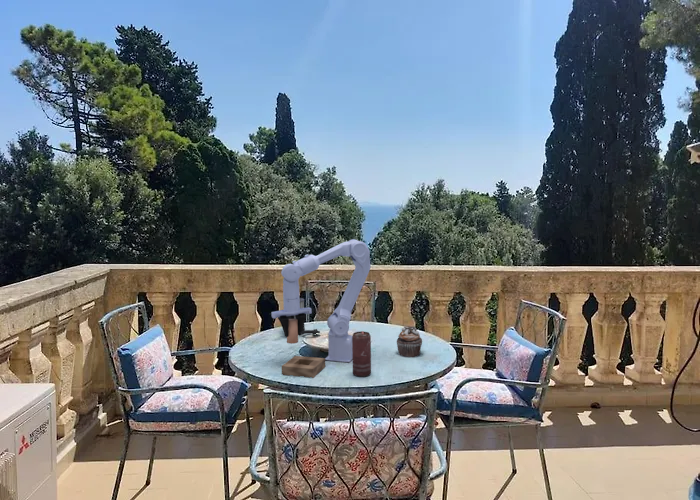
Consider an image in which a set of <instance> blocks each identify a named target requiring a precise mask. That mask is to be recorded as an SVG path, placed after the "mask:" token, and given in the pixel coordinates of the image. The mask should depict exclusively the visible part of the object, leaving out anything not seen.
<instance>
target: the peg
mask: <svg viewBox="0 0 700 500" xmlns="http://www.w3.org/2000/svg"><path fill="white" fill-rule="evenodd" d="M286 343H287V344H291V345H292V344H297V343H299V335H298V320H297V319H289V322H288V337H286Z"/></svg>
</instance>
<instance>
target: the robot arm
mask: <svg viewBox="0 0 700 500" xmlns="http://www.w3.org/2000/svg"><path fill="white" fill-rule="evenodd" d="M370 253H371V251H370V249H369V247H368V245H367V244H366V243H365V242H364V241H362V240H361V241H360V240H358V239H355V238H353V239H352V238H351V239H350V240H348V241H344V242H341V243H339V244H337V245H334V246H333V247H331V248H329V249H328V250H325V251H323V252H321V253H319V254H318V255H314V254H309V253H307V254H305V255H304V257H302V258H300V259H298V260H292V263H287V264H285V265H284V266H283V267H282V269H281V273H280V274H281V276H282V277H283V278H282V284H283V285H282V292H283V294H282V295H283V296H282V298H283V309H281V310H276V311H271V313H270V314H271V318H272V319H278V320H279V323H280V325H281V328H282V330H283V334H284V335H283V336H284V337H286V338H287V337H288V322H289V319H287V317H286V316H292V315H295V318H296V319H297V320H298V336H301V335H302V334H301V329H302V326H303V323H304V324H305V321H306V319H307V315H310V314H311V315H312V312H313V311H312V308H311V307H304V308H300V299H299V298H300V284H299V283H300V282H299V279H300V277H303V276H305V275H308V274H310V273H312V272H314V271H317V270H318V269H319V267H320V265H322V264H324V263H326V262H328V261H331V260H332V259H336V258H338V257H340V256H341V257H350V259H351V260H352V262H353V265H354V266H355V268H354V270H353V273H352V274H351V277H350V280H349V282H348V284H347V286H346V288H345V291H344V293H343V295H342V297H341V299H340V302H339V304H338V306H337V307H336V308H335V309H334V311H333V313H332V314H331V315H329V317H328V318H327V320H326V324H327V326H328V328H329V331H328V333H327V334H328V336H327V337H328V338H327V339H328V343H327V344H328V346H327V347H328V355H327V356H326V357H325V361H332V362H341V363H342V362H343V363H344V362H345V363H350V362H351V361H353V355H352V336H353V334H349V330H350V322H351V317H352V311H353V309H354V306H355V305H356V302H357V300H358V298H359V295H360V294H361V290H362V288H363V286H364V285H365V282H366V280H367V277H368V275H369V273H370V270H371V258H370V257H371V256H370V255H371V254H370ZM300 334H301V335H300Z"/></svg>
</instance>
